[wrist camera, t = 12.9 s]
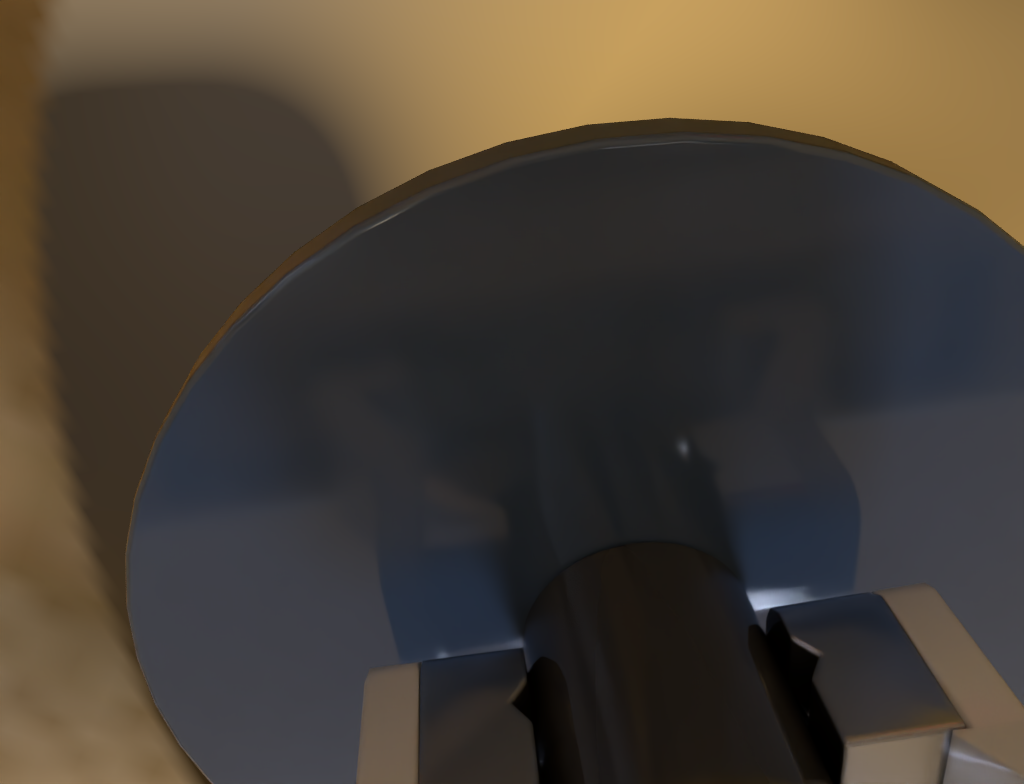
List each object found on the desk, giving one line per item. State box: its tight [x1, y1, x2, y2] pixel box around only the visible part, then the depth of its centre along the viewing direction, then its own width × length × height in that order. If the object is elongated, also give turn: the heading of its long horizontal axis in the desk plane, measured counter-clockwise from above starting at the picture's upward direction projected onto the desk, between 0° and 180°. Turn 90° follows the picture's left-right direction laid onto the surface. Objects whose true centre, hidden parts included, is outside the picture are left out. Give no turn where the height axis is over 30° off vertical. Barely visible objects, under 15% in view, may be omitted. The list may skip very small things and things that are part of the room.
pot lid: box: [125, 118, 1024, 784], centre depth 8 cm, size 10×10×4 cm
